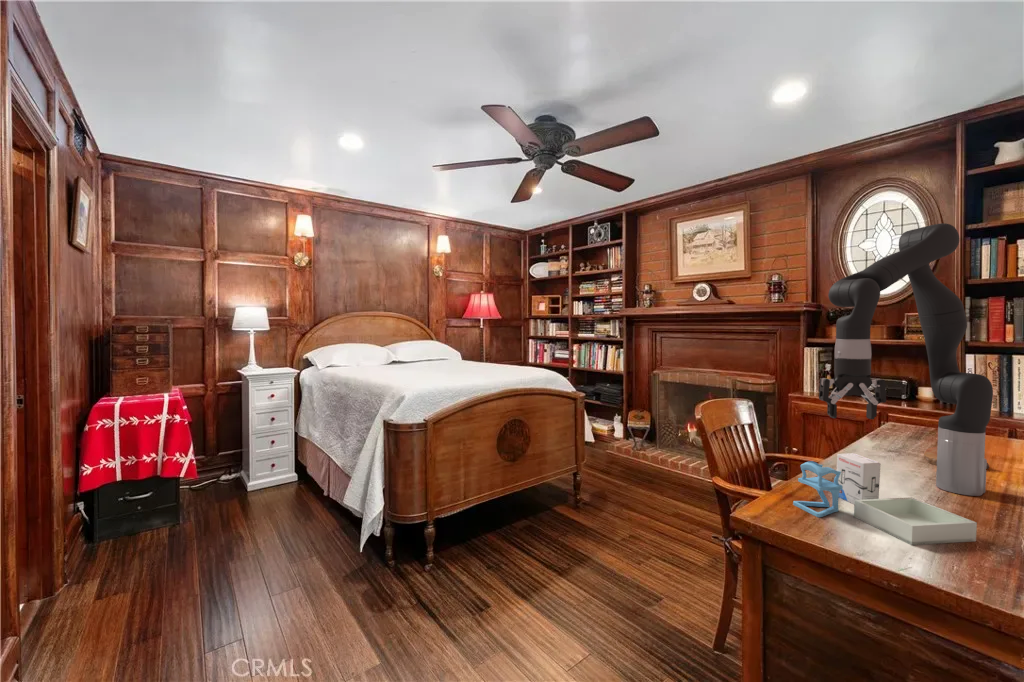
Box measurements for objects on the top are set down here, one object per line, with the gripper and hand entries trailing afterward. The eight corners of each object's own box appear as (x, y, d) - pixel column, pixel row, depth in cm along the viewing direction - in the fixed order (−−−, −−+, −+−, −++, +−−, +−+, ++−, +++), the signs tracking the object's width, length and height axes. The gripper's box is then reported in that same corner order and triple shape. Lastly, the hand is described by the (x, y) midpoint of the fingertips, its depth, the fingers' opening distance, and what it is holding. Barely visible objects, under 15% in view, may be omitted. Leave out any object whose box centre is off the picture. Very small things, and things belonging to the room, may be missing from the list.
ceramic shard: (904, 441, 154) (946, 447, 154) (903, 459, 154) (945, 466, 153) (946, 447, 139) (992, 454, 139) (944, 468, 139) (991, 475, 139)
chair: (847, 515, 106) (849, 466, 105) (818, 517, 104) (819, 468, 104) (820, 502, 113) (821, 457, 113) (792, 504, 112) (793, 458, 112)
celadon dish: (911, 513, 107) (911, 497, 107) (976, 541, 93) (976, 522, 93) (853, 516, 105) (854, 500, 105) (911, 545, 91) (912, 526, 91)
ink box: (833, 495, 118) (835, 452, 118) (850, 494, 119) (852, 452, 118) (861, 508, 110) (863, 462, 109) (880, 508, 110) (881, 462, 110)
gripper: (875, 355, 115) (874, 416, 115) (814, 355, 118) (814, 414, 118) (893, 357, 107) (892, 422, 108) (828, 357, 110) (827, 420, 111)
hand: (851, 418), depth 113 cm, fingers open, 8 cm apart
